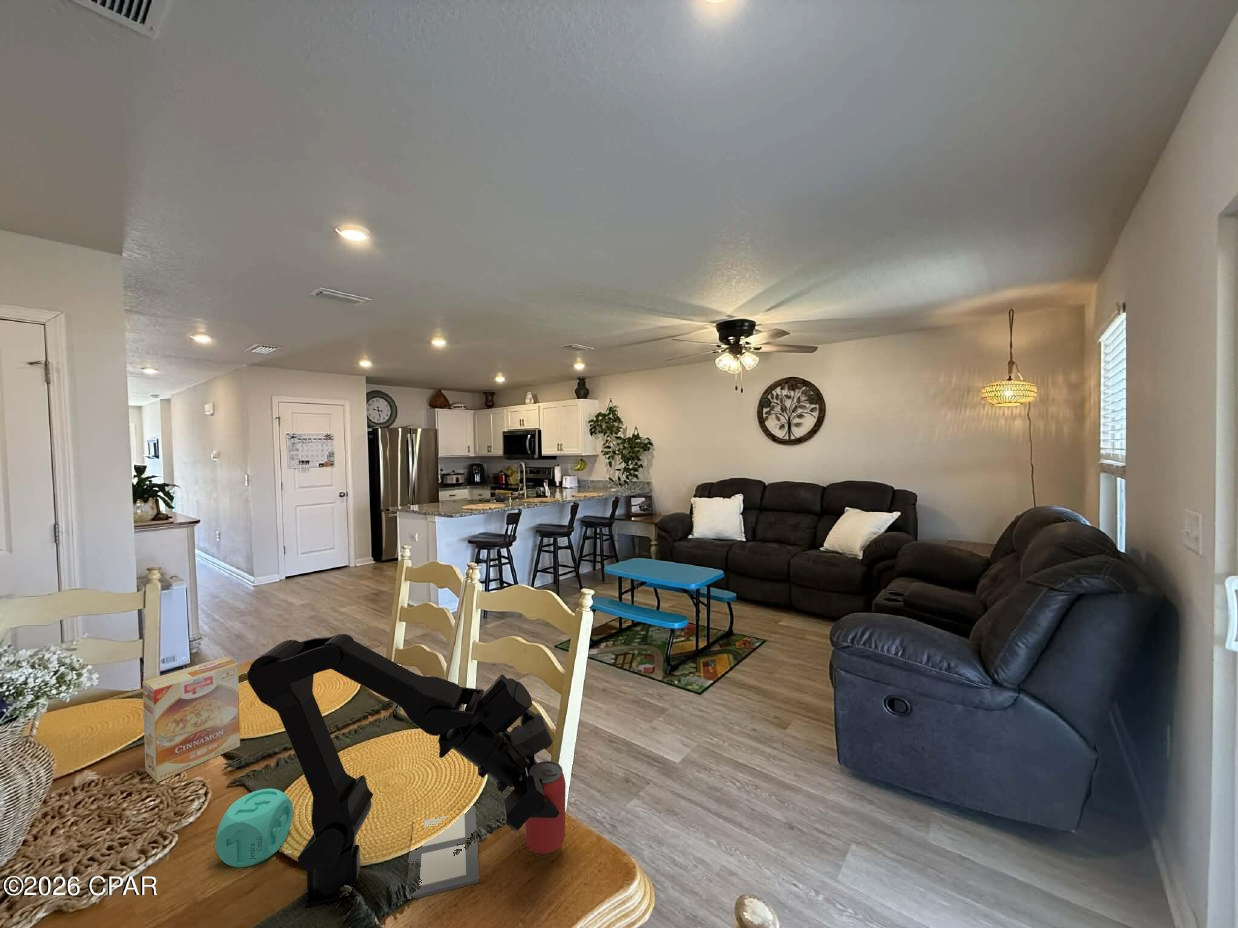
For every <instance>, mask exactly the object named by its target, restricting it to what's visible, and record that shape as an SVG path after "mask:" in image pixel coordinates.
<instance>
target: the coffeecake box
mask: <svg viewBox="0 0 1238 928" xmlns="http://www.w3.org/2000/svg"><path fill="white" fill-rule="evenodd" d="M239 685H240V684H239V663H238V662H236V661H234V660H232V659H230V658H229V657H227V656H223V657H220V658H218V659H214V660H210V661H207V662H203V663H200V664H197V665H194V666H188V667H186V668H183V669H180V670H177V671H173V672H169V673H167V674H163V675H160V676H157V677H153V678H150V679H146V680H143V681H142V702H143V703H142V704H143V705H142V707H143V734H144V735H143V736H144V740H143V741H144V766H145V767H144V768H145V772H146V773H148V775H149V776H150V777H151V778H152V779H153V780H154V781H155V782H156V783H159V782H161V781H164V780H166V779H168V778H170V777H172V776H175V775H178V774H180V773H182V772H184V771H186V770H188V769H191V768H193V767H195V766H197V765H200V764H202V763H204V762H207V761H209V760H211V759H213V758H216V757H218V756H221V755H222V754H225V753H228V752H230V751H232V750H234V749H237V748H239V747H241V728H240V722H241V721H240V720H241V719H240V691H239V690H240V688H239Z"/></svg>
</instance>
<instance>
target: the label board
mask: <svg viewBox="0 0 1238 928" xmlns="http://www.w3.org/2000/svg"><path fill="white" fill-rule="evenodd" d="M476 811H477V810H476V805H471V808H470V809H469V810H468V812H467V813H465V814H464V812H463V813H462V815H461V816H459V819H457V820H456V822H454V823H453V824H452V825H451V826H450V827H449V828H447V829H445V831H443V832H442V833H441V834H439V835H437V836H436V837H435V838H433V839H431V840H430V841H429V840H428V841H427V842H425V843H424V844H423V845H422V847H421V848H419V849H417V850H414V851H412V852H410V853H408V861H407V864H408V863H416V862H417V861H418V862H419V861H421V862H419V863H421V867H420V879H421V880H422V881H421V880H419V881H421V882H422V883H421V882H420V883H419V884H420V885H421V886H422V888H420V889H419V890H418V891H416V892H414V893H413V894H412V895H411V896H413V897H415V898H416V899H420V898H424V897H427V896H431V895H436V894H440V893H442V892H448V891H451V890H454V889H455V890H456V889H458V888H462V887H467V886H471V885H475V884H478V883H480V867H479V866H480V864H479V848H478V846H479V844H478V840H477V841H476V842H475V843H473V844H472V846H471V847H470V848H469V849H467V850H465V848H464V847H465V844H463V845H458V846H457V845H456V844H460V843H461V844H462V843H464V842H463V841H465V840H470V839H467V838H470V837H471V833H473V832H474V830H477V829H478V828H477V813H476ZM445 817H449V816H441V817H440V819H439V817H436V818H438V819H435V818H434V819H433V818H432V819H427V820H428V821H427V820H424V827H428V826H429V827H430V826H436V825H432V824H436V823H437V826H438V823H440V822H438V821H442V820H443V819H441V818H445ZM450 817H451V816H450ZM444 820H445V819H444ZM444 820H443V821H444ZM430 821H431V822H430ZM432 821H433V822H432ZM434 821H435V822H434ZM436 821H437V822H436ZM430 823H431V825H430ZM441 823H442V822H441ZM428 824H429V825H428ZM425 829H426V828H425ZM456 849H462V851H460V853H459V854H458V855H456V854H455V856H453V855H454V854H453V852H456V851H454V850H456ZM416 859H417V860H416ZM418 859H419V860H418ZM420 859H421V860H420ZM409 861H410V862H409ZM411 861H412V862H411ZM413 861H414V862H413ZM415 861H416V862H415ZM418 862H417V863H418ZM420 885H419V886H420Z"/></svg>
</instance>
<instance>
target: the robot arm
mask: <svg viewBox="0 0 1238 928" xmlns="http://www.w3.org/2000/svg"><path fill="white" fill-rule="evenodd" d="M327 670H332V671H334V672H337V673H338V674H340V675H342V676H343V677H345V678H348V679H349V680H351V681H352V682H355V683H357V684H358V685H360V686H362V687H364V688H365V689H367V690H370V691H372V692H374V693H376V694H377V695H378V696H382V697H383V698H385V699H387V700H389V701H390V702H392V703H394V704H396V705H397V706H398V707H399V708H401V709H402V710H403V712H404V713H405V715H406V717H407V718H408V719H409V721H410V722H411V723H412V724H414V725H415V726H417V727H418V728H419V729H420V730H422V732H424V733H426V734H427V735H429V736H431V737H432V736H434V737H438V740H437V742H438V745H439V754H438V757H439V758H441V759H442V758H444V757H445V756H447V754H449V752H451V750H454V751H456V752H457V753H458V754H459V755H460V756H462V757H463V758H464V759H466V760H467V761H469V762H470V763H471V764H473V765H474V766H475V767H476V768H477V774H478V776H479V777H480V778H482V779H484V778H485V777H486V776H488V777H489V778H491V779H492V780H493V781H495V782H496V789H497V790H498V792H499V793H501V794H502V793H503V792H504V791H505V790H506V789H507V787H509V788H510V789H513V790H512V791H511V792H510V793H509V794H508V795H507V797H506V798H504V800H503V810H504V817H505V819H504V820H505V824H506V825H507V826H508V827H509V828H511V829H512V830H513V831H514V832H516V831H520V829H522V827H523V826H524V825H525V822H526V821H527V820H528V819H529V818H556V817H557V816H558V815H559V813H560V812H559V810H558V809H557V807H556V806H555V805H554V804H553V803H552V802H551V800H550V799H549V798H548V797H547V796H546V795H545V794H544V785H543V781H542V778H541V779H540V780H538V779H537V778H536V777H535V776H533V775H532V776H529V770H530V768H531V767H532V766H533V765H535V764H536V763H538V761H537V760H536V758H535V756H536V755H537V754H538V753H539V752H542V751H543V750H546V749H549V747H551V745H552V744H553V738H552V736H551V733H550V729H549V728H548V725H547V723H546V722H545V719H544V717H543V716H542V715H541V714H540V713H539V712H537V713H535V712H533V711H532V710H530V708H531V707H532V705H533V700H532V697H531V695H530V693H529V691H528V689H527V688H526V687H525V685H524V684H523V683H522V682H520V681H517V680H516V679H514V678H510V677H509V678H507V677H506V676H505V674H503V673H502V674H500V675H499V676H498V677H497V678H496V679H495V680H494V682H493V683H492V685H490V686H489V687H488V688H487V689H486V690H484V689H481V688H480V689H479V688H471V687H465V686H464V687H463V686H461V685H458V683H456V682H453V681H450V680H447V679H445V678H441V677H438V676H428V675H427V676H426V675H424V676H423V675H421V674H417V673H415V672H413V671H411V670H409V669H408V668H405V667H404V666H402V665H400V664H398V663H396V662H394V661H392V660H391V659H389V658H387V657H386V656H384V655H382V654H379V653H378V652H376V651H374V650H372V649H370V648H369V647H367V646H365V645H364V644H361V643H359V642H357V641H355V639H354V638H353V637H352V636H351V635H350V634H348V633H340V634H339V633H338V634H336V635H332V636H324V637H322V636H321V637H314V638H311V639H307V640H302V641H299V640H297V639H287V640H283V641H281V642H280V643H278V644H277V645H275V646H274V647H272V648H271V649H269V650H268V651H266V652H264V653H263V654H261V656H259V657H257V658H256V659H255V660H254V661H253V662H251V664H250V667H249V669H248V671H247V672H246V673H247V674H246V678H247V682H248V684H249V686H250V688H251V689H252V690H253V693H255V695H256V697H257V698H258V700H259V701H260V703H262V704H265V705H266V706H268V707H269V708H271V709H272V710H274V711H276V713H277V714H278V717H279V719H280V721H281V723H282V726H283V729H284V731H285V732H286V735H287V737H288V740H289V743H290V746H291V747H292V749H293V752H294V753H295V757H296V759H297V762H298V764H299V767H300V768H301V771H302V773H303V776H304V778H305V781H306V783H307V785H308V788H309V791H310V793H311V796H312V804H311V806H312V807H311V821H310V822H311V827H312V832H313V834H312V836H311V837H310V838H309V840H308V841H307V842H306V845H305V846H304V847H303V848H302V850H301V852H300V853H299V855H298V856H297V861H298V863H299V866H300V868H301V870H302V871H306V891H307V892H306V895H305V898H304V901H303V907H304V908H308V907H313V906H315V905H319V904H320V905H321V904H323V903H328V902H332V901H336V899H337V900H339V899H338V898H339V897H340V895H338V894H337V893H338V890H339V889H340V887H342V886H344V885H349V886H351V887H353V885H354V886H355V883H356V882H357V881H358V878H359V875H360V870H361V851H360V850H361V849H360V848H361V847H360V845H359V844H356V837H357V835H358V833H359V831H361V830H360V829H361V828H362V827H363V824H364V822H365V820H366V819H367V817H368V816H369V813H370V811H371V808H372V805H373V804H372V799H373V797H374V793H373V792H372V791H371V790H370V788H369V786H368V784H367V783H368V782H367V779H366V777H365V775H360V776H358V777H356V778H355V777H354V776H352V775H350V774H348V773H347V772H346V770H345V767H344V765H343V763H342V761H341V758H340V756H339V753H338V751H337V748H336V746H335V744H334V741H333V739H332V736H331V733H330V731H329V730H328V726H327V725H326V721H325V720H324V717H323V715H322V712H321V709H320V707H319V705H318V702H317V700H316V697H315V695H314V691H313V690H314V676H315V674H318V673H320V672H325V671H327ZM464 705H465V707H464V710H463V709H462V708H463V706H464ZM518 719H519V720H520V724H517V725H516V726H514V727H513V728H512V729H511V730H510V731H509V730H508V729H510V727H511V726H513V724H514V723H516V721H518ZM354 882H355V883H354ZM353 888H354V887H353Z"/></svg>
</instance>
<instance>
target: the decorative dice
mask: <svg viewBox="0 0 1238 928" xmlns="http://www.w3.org/2000/svg"><path fill="white" fill-rule="evenodd" d="M293 817H294V806H293V802H292V800H291V798H290V797H289V796H288V794H286V793H285V792H283V791H282V790H280V789H277V788H262V789H258V790H254V791H252V792H250V793H247V794H245V795H243V796H242V797H240V798H238V799H237V800H236V801H234V802H233V803H232V804H231V805H230V806H229V807H228V809H226V811H225V813H224V814H223V816H222V818H221V820H220V822H219V825H218V827H217V830H216V835H215V841H214V843H215V844H214V845H215V851H216V854H217V856H218V857H219V858H220V859H221V861H222V862H223V863H225V864H227V865H228V866H231V867H234V868H248V867H251V866H254V865H255V866H256V865H257V864H260V863H262V862H264V861H265V860H267V859H269V858H271V857H272V856H273V855H274V854H275V853H277V851H278V850H279V849H280V848H281V847H282V846H283V844H284V843H285V841H286V839H287V837H288V835H289V834H288V833H289V832H290V829H291V826H292V821H293ZM280 846H281V847H280Z"/></svg>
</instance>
